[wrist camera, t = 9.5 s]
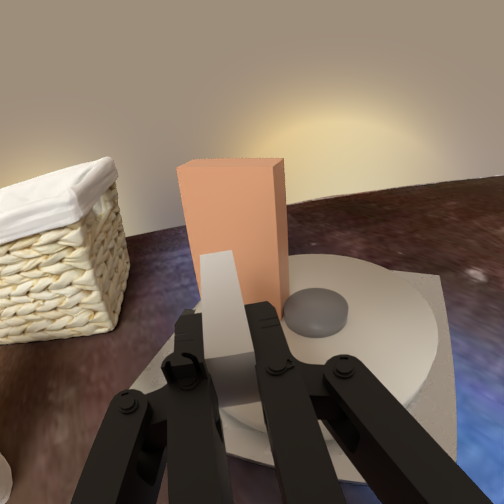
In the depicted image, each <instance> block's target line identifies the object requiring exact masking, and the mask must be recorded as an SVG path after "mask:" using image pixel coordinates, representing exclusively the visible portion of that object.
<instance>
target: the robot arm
mask: <svg viewBox="0 0 504 504" xmlns="http://www.w3.org/2000/svg"><path fill="white" fill-rule="evenodd" d="M200 276H201V302H202V313H195V314H188V315H182V316H180V317H179V319H178V320H177V322H176V324H175V333H174V334H175V336H174V352H173V353H171V354H170V355H168V356H167V357H166V358H165V359H164V360H163V361H162V364H161V370H162V372H163V374H164V377H165V379H166V381H167V384H166V385H164V386H163V387H162V388H160V389H158V390H155V391H153V392H150V393H147V394H144V393H142V392H141V391H139V390H136V389H127V390H124V391H121V392H119V393H118V394H117V395H115V396H114V398H113V399H112V401H111V403H110V405H109V407H108V409H107V412H106V414H105V417H104V419H103V421H102V424H101V426H100V428H99V431H98V433H97V436H96V438H95V441H94V443H93V446H92V448H91V451H90V453H89V456H88V458H87V461H86V463H85V466H84V468H83V471H82V474H81V476H80V479H79V482H78V484H77V487H76V490H75V493H74V495H73V498H72V501H71V504H156V502H157V498H158V494H159V490H160V486H161V482H162V478H163V474H164V470H165V467H166V463H167V466H168V497H169V504H234V502H233V495H232V489H231V482H230V476H229V469H228V462H227V455H226V448H225V440H224V432H223V425H222V419H221V417H220V413H219V407H220V408H224V407H231V406H237V405H243V404H249V403H255V402H261V404H262V410H263V417H264V424H265V425H266V430H267V434H268V439H269V443H270V448H271V452H272V457H273V461H274V465H275V470H276V474H277V478H278V483H279V487H280V491H281V495H282V500H283V504H346V501H345V498H344V495H343V492H342V489H341V486H340V483H339V480H338V478H337V475H336V472H335V469H334V466H333V463H332V460H331V457H330V454H329V451H328V448H327V445H326V443H325V440H324V437H323V434H322V431H321V428H320V425H319V422H318V420H321V421H322V423H323V424H324V426H325V427H326V428H327V430H328V431H329V433H330V434H331V435H332V437H333V438H334V439H335V441H336V442H337V444H338V445H339V446H340V448H341V449H342V450H343V452H344V453H345V455H346V456H347V457H348V459H349V460H350V461H351V463H352V464H353V465H354V467H355V468H356V470H357V471H358V472H359V474H360V475H361V476H362V478H363V479H364V480H365V482H366V483H367V484H368V486H369V487H370V488H371V489H372V491H373V492H374V493H375V495H376V496H377V497H378V499H379V500H380V501H381V503H382V504H493V503H492V502H491V500H490V499H489V498H488V497H487V496H486V495H485V494H484V493H483V492H482V491H481V490H480V488H479V487H478V486H477V485H476V484H475V483H474V482H473V481H472V480H471V479H470V478H469V477H468V475H467V474H466V473H465V472H464V471H463V470H462V469H461V468H460V467H459V466H458V465H457V464H456V462H455V461H454V460H453V459H452V458H451V457H450V456H449V455H448V454H447V453H446V452H445V451H444V449H443V448H442V447H441V446H440V445H439V444H438V443H437V442H436V441H435V440H434V439H433V438H432V437H431V435H430V434H429V433H428V432H427V431H426V430H425V429H424V428H423V427H422V426H421V425H420V424H419V423H418V421H417V420H416V419H415V418H414V417H413V416H412V415H411V414H410V413H409V412H408V411H407V410H406V409H405V408H404V406H403V405H402V404H401V403H400V402H399V401H398V400H397V399H396V398H395V397H394V396H393V395H392V394H391V393H390V391H389V390H388V389H387V388H386V387H385V386H384V385H383V384H382V383H381V382H380V381H379V380H378V379H377V378H376V376H375V375H374V374H373V373H372V372H371V371H370V370H369V369H368V368H367V367H366V366H365V365H364V364H363V363H362V362H361V361H360V360H359V359H358V358H356V357H355V356H351V355H348V354H340V355H336V356H333V357H331V358H330V359H328V360H327V361H326V363H325V365H321V364H307V363H304V362H301V361H299V360H297V359H296V358H295V357H294V356H293V355H292V353H291V352H290V349H289V346H288V343H287V340H286V337H285V335H284V332H283V329H282V326H281V323H280V320H279V318H278V314H277V311H276V309H275V307H274V306H273V305H272V304H270V303H269V302H268V301H263V302H258V303H252V304H246V305H244V303H243V299H242V294H241V290H240V285H239V281H238V276H237V271H236V267H235V262H234V257H233V253H232V250H228V251H222V252H216V253H209V254H203V255H200Z"/></svg>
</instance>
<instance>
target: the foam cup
mask: <svg viewBox="0 0 504 504" xmlns="http://www.w3.org/2000/svg"><path fill="white" fill-rule="evenodd" d="M12 485H13V481H12V473H11V468H10V466H9V464H8V463H7V461H6V459H5V458H4V457H3V456H2V455H1V453H0V504H5V503H6V502H7V500H8V499H9V497H10V493H11V489H12Z"/></svg>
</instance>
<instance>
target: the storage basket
mask: <svg viewBox="0 0 504 504" xmlns="http://www.w3.org/2000/svg"><path fill="white" fill-rule="evenodd" d="M117 178H118V173H117V169H116V167H115V164H114V161H113V159H112V158H110V157H103V158H101V159H99V160H97V161H92V162H88V163H83V164H79V165H75V166H71V167H68V168H64V169H61V170H57V171H54V172H51V173H48V174H45V175H42V176H38V177H35V178H33V179H29V180H26V181H23V182H20V183H16V184H13V185H10V186H7V187H4V188H1V189H0V344H13V343H28V342H31V341H41V340H43V341H48V340H52V339H58V338H64V339H65V338H70V337H76V336H83V335H86V336H89V335H92V334H98V333H107V332H108V331H112V330H113V329H114V328H115V326H116V325H117V322H118V315H119V313H120V310H121V304H122V301H123V292H125V289H126V280H127V279H128V275H129V269H130V260H129V256H128V251H127V248H126V247H127V243H126V241H125V233H124V230H123V225H122V218H121V215H120V213H119V212H120V208H119V206H118V193H117V190H116V183H115V181H116V179H117Z"/></svg>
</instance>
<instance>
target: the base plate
mask: <svg viewBox="0 0 504 504" xmlns="http://www.w3.org/2000/svg"><path fill="white" fill-rule="evenodd" d="M390 271H392V272H394V273H395V274H397V275H399V276H400V277H402V278H404V279H405V280H406V281H407V282H409V283H410V284H411V285H413V286H414V287H415V288H416V289H417V290H418V291H419V292H420V293H421V295H422V296H423V297H424V298H425V300H426V301H427V302H428V304H429V306H430V308H431V309H432V311H433V314H434V317H435V319H436V323H437V328H438V346H437V352H436V356H435V358H434V361H433V363H432V366H431V368H430V371H429V373H428V375H427V378H426V380H425V382H424V384H423V386H422V388H421V389H420V391H419V392H418V394H417V395H416V397H415V398H414V399H413V400H412V401H411V402H410V403H409V404H408V405H407V407H406V408H405V409H406V410H407V411H408V412H409V413H410V414H411V415H412V416H413V417H414V418H415V419H416V420H417V421H418V423H419V424H420V425H421V426H422V427H423V428H424V429H425V430H426V431H427V432H428V433H429V434H430V435H431V437H432V438H433V439H434V440H435V441H436V442H437V443H438V444H439V445H440V446H441V447H442V448H443V449H444V451H445V452H446V453H447V454H448V455H449V456H450V457H451V458H452V459H453V460H454V461H455V462H456V459H457V413H456V392H455V378H454V367H453V357H452V349H451V341H450V333H449V326H448V320H447V314H446V308H445V302H444V297H443V292H442V287H441V282H440V277H439V275H430V274H421V273H412V272H403V271H394V270H390ZM200 302H201V300H200V301H199V303H198V304H197V305H196V306H195V308H194V309H193V310H190V309H185V310H184V312H183V313H182V315H188V314H194V313H195V311H196V309H197V307H198V305H199V304H200ZM182 315H181V316H182ZM174 333H175V332H174ZM174 336H175V334H173V335H172V336H171V337H170V339H169V340H168V341H167V342H166V344H165V345H164V346H163V347H162V348H161V350H160V351H159V352H158V353H157V355H156V356H155V357H154V358H153V360H152V361H151V362H150V363H149V365H148V366H147V367H146V368H145V370H144V371H143V372H142V373H141V375H140V376H139V377H138V378H137V380H136V381H135V382H134V383H133V385H132V386H131V387H130V389H136V390H139V391H141V392H142V393H144V394H147V393H150V392H153V391H155V390H158V389H160V388H162V387H163V386H164V385H166V384H167V381H166V379H165V377H164V374H163V372H162V370H161V364H162V361H163V360H164V359H165V358H166V357H167V356H168V355H170V354H171V353H173V352H174ZM219 413H220V417H221V419H222V425H223V432H224V440H225V448H226V455H229V456H232V457H235V458H238V459H242V460H245V461H248V462H252V463H255V464H259V465H263V466H266V467H270V468H274V469H275V465H274V461H273V457H272V452H271V448H270V443H269V439H268V434H267V433H265V432H262V431H259V430H256V429H254V428H252V427H250V426H248V425H246V424H244V423H242V422H240V421H239V420H237V419H236V418H234V417H233V416H231V415H230V414H228V413H227V412H226V411H224V410H223V409H222V408H220V407H219ZM325 443H326V445H327V448H328V451H329V454H330V457H331V460H332V463H333V466H334V469H335V472H336V475H337V478H338V480H339V482H344V483H351V484H358V485H367V486H368V484H367V483H366V482H365V480H364V479H363V478H362V476H361V475H360V474H359V472H358V471H357V470H356V468H355V467H354V465H353V464H352V463H351V461H350V460H349V459H348V457H347V456H346V455H345V453H344V452H343V450H342V449H341V448H340V446H339V445H338V444H337V442H336V441H335V439H331V440H325Z"/></svg>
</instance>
